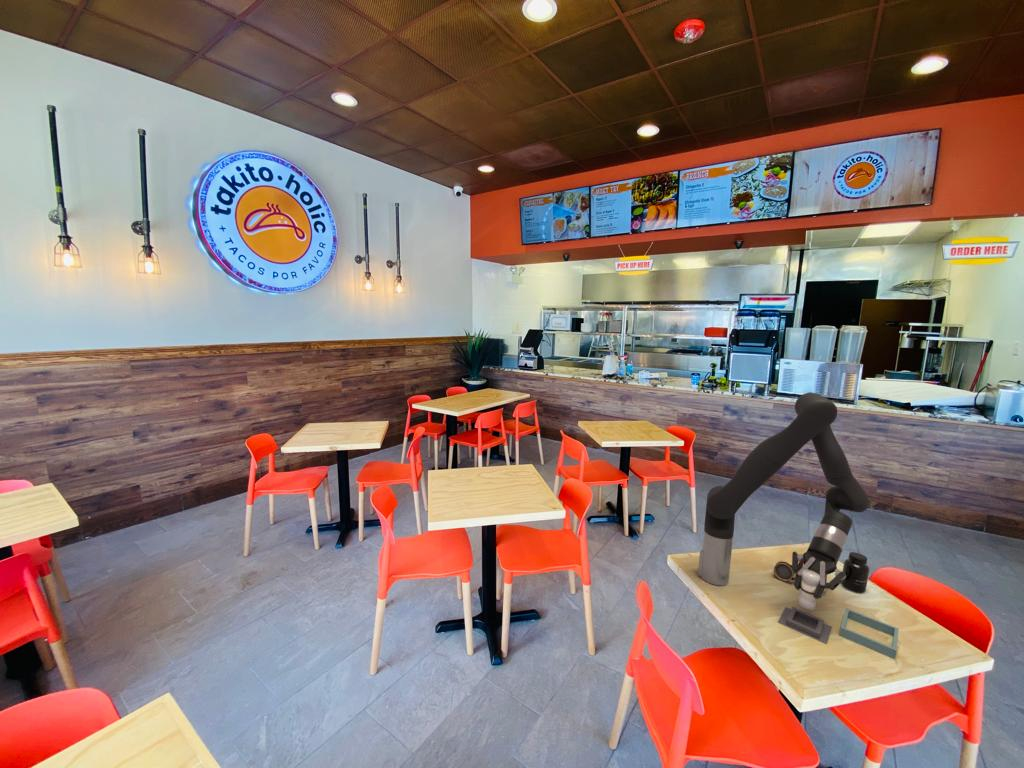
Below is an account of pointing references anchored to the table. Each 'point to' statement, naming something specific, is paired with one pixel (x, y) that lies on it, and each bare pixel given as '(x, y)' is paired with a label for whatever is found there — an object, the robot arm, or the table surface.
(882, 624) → the parts tray
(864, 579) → the supplement bottle
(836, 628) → the table surface
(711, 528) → the robot arm
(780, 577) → the goggles
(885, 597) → the table surface
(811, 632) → the grey recessed base plate
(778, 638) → the table surface
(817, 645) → the table surface
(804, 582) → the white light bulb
